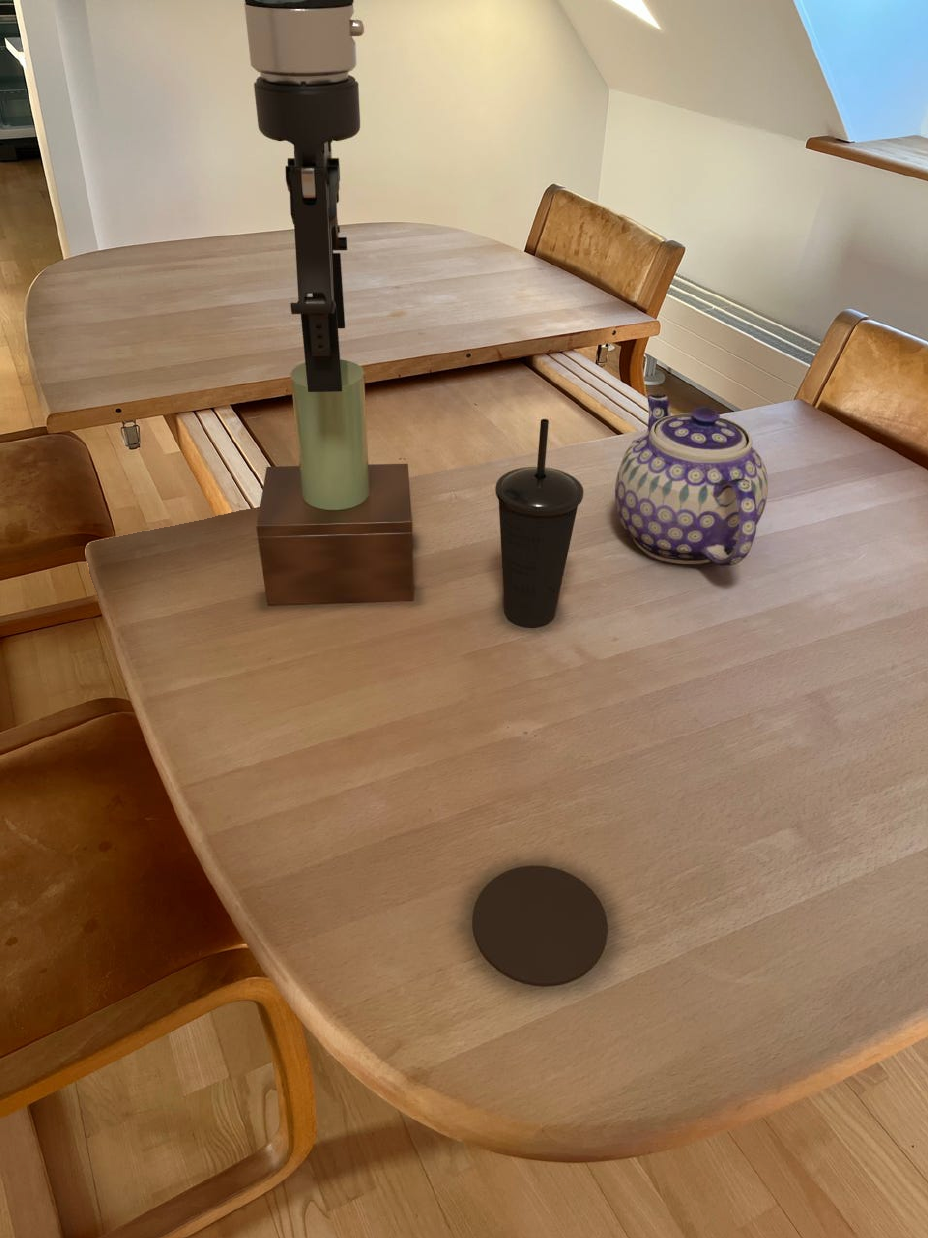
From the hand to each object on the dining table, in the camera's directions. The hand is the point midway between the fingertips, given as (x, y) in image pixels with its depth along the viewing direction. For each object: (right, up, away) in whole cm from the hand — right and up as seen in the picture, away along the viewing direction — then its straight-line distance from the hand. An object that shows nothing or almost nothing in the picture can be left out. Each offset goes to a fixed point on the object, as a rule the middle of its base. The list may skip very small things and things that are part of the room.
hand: (327, 356), depth 81 cm
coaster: (+17, -43, -18) cm, 50 cm away
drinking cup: (+18, -22, +9) cm, 30 cm away
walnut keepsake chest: (-1, -18, +14) cm, 22 cm away
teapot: (+35, -14, +20) cm, 43 cm away
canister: (0, -11, +8) cm, 13 cm away
